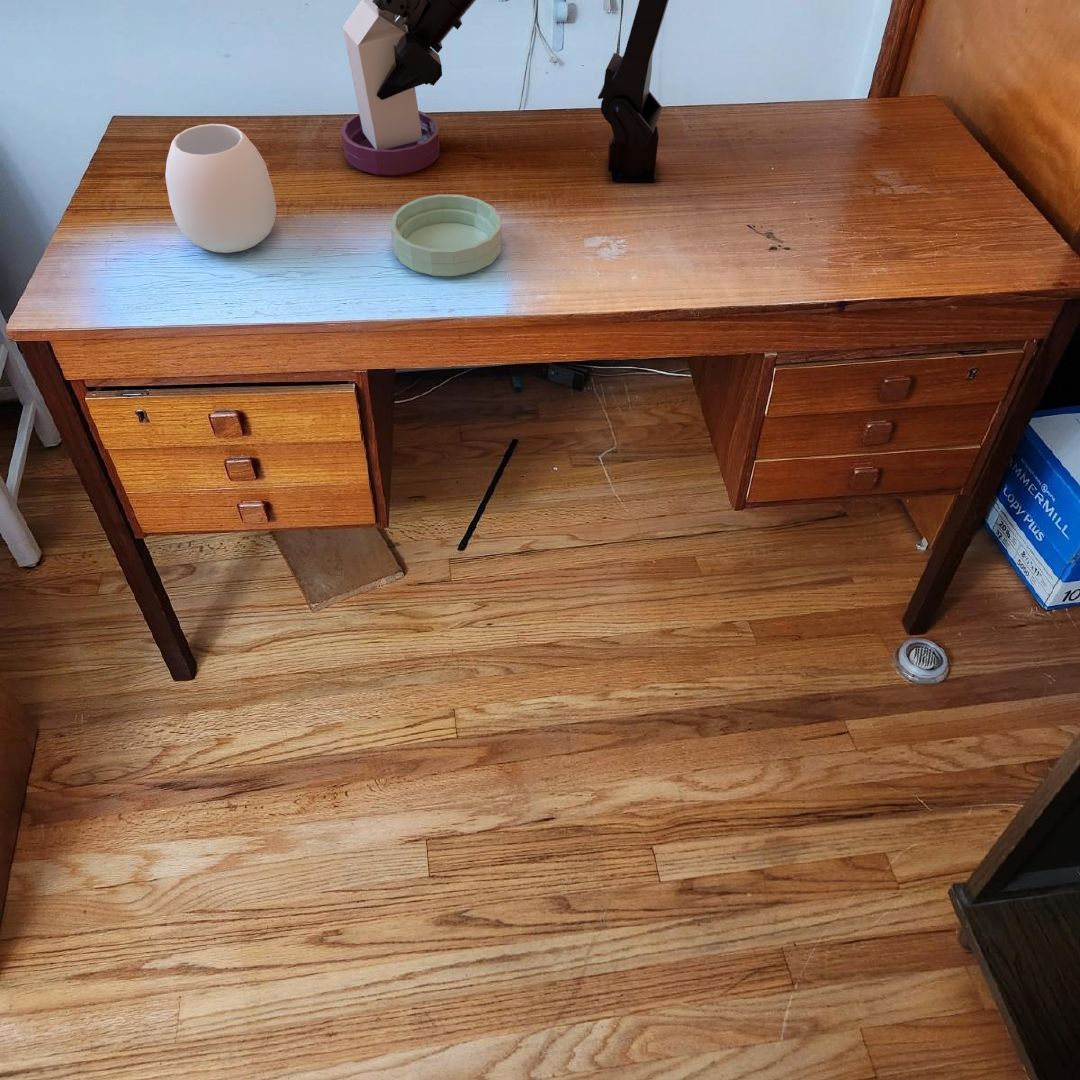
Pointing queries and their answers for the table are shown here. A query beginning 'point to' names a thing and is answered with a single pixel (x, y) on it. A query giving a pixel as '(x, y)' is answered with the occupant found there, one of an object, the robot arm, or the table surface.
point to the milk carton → (379, 78)
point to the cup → (219, 188)
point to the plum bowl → (391, 149)
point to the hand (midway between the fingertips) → (377, 84)
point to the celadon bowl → (446, 234)
